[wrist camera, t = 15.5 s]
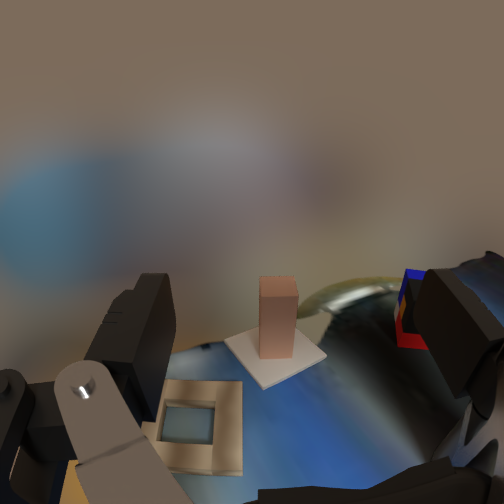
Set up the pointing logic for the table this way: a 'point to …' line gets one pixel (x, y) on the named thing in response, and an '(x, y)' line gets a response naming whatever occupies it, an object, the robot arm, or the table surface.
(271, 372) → the grey pad
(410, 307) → the puzzle toy
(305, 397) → the table surface
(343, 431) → the table surface
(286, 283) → the terracotta block
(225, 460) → the puzzle board
